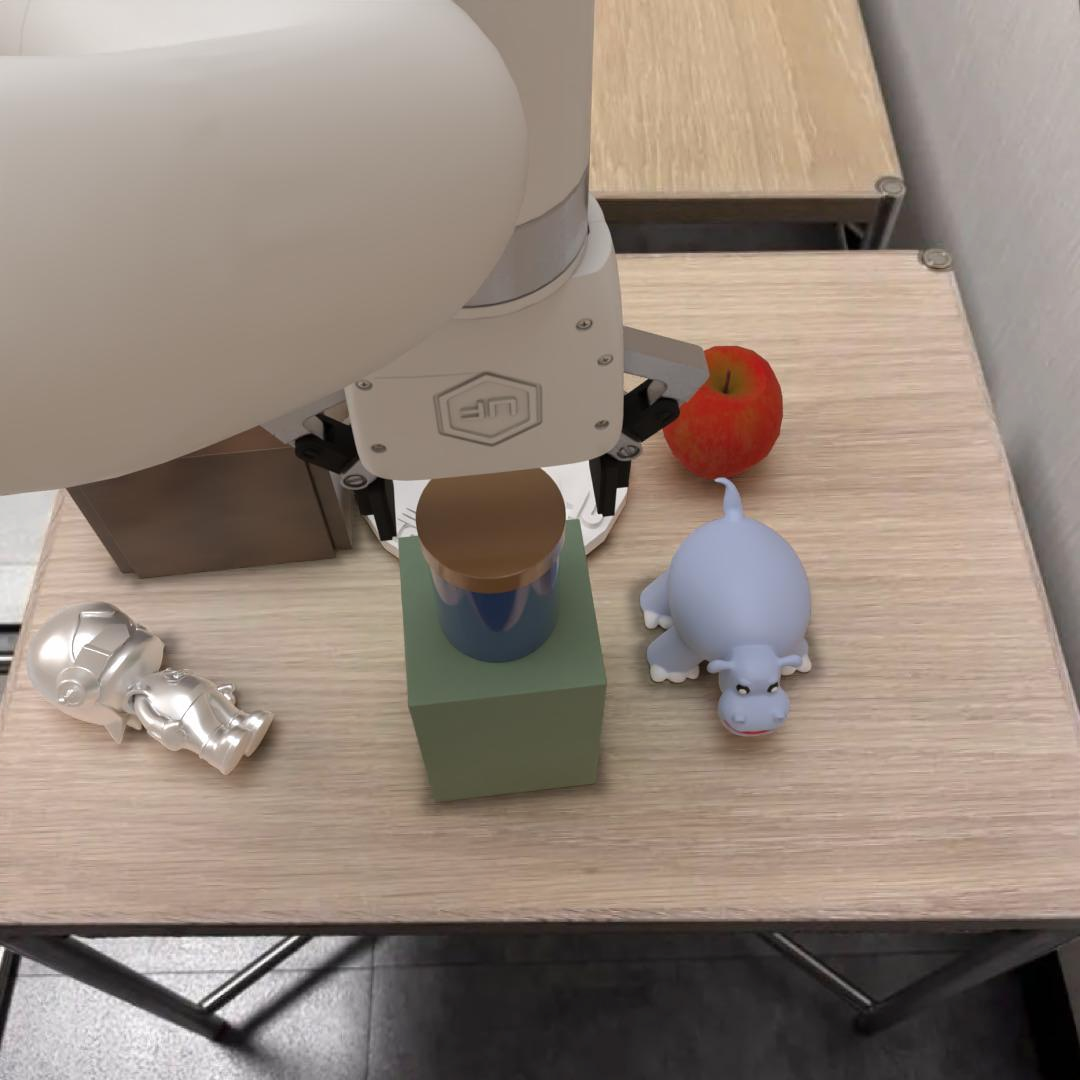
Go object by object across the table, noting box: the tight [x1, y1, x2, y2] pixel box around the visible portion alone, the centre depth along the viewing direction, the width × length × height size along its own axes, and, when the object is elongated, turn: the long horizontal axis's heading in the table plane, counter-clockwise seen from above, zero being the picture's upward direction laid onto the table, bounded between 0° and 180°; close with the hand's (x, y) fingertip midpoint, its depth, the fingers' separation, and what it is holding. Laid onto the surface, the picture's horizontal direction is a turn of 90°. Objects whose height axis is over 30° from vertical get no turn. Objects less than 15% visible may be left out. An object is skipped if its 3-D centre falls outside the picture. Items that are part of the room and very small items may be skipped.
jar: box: [416, 468, 566, 663], centre depth 52 cm, size 7×7×9 cm
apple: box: [661, 345, 784, 481], centre depth 75 cm, size 9×8×11 cm
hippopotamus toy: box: [639, 478, 812, 737], centre depth 67 cm, size 11×15×10 cm
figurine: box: [26, 600, 274, 776], centre depth 66 cm, size 11×7×15 cm
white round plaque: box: [363, 460, 629, 559], centre depth 78 cm, size 20×20×3 cm
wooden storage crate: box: [65, 401, 353, 579], centre depth 75 cm, size 16×21×13 cm
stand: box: [398, 519, 608, 803], centre depth 62 cm, size 10×10×15 cm
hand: (494, 501), depth 48 cm, fingers open, 9 cm apart
